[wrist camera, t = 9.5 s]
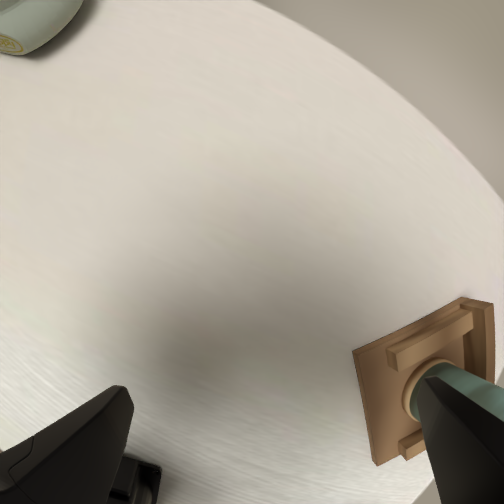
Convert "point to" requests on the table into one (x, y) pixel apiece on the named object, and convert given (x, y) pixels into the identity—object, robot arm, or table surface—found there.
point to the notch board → (409, 358)
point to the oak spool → (470, 385)
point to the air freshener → (33, 22)
